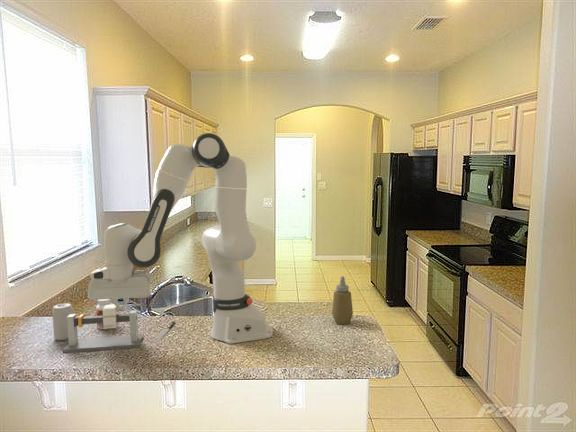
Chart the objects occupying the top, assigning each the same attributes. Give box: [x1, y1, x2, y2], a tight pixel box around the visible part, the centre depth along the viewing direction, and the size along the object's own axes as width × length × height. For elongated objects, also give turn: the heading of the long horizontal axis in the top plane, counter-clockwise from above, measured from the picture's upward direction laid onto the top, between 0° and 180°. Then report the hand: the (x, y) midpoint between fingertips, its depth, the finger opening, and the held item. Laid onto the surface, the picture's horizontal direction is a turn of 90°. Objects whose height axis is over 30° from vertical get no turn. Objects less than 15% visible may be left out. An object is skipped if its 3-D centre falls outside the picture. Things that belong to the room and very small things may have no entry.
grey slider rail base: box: [62, 309, 144, 353], centre depth 149 cm, size 24×9×11 cm, turn 99°
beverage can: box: [51, 302, 74, 341], centre depth 155 cm, size 6×6×12 cm
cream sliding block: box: [102, 303, 120, 330], centre depth 149 cm, size 4×5×7 cm
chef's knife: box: [156, 321, 176, 343], centre depth 160 cm, size 19×1×3 cm
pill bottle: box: [95, 299, 113, 330], centre depth 166 cm, size 6×6×11 cm
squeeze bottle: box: [331, 275, 354, 325], centre depth 167 cm, size 8×8×18 cm
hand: (121, 310), depth 149 cm, fingers closed
